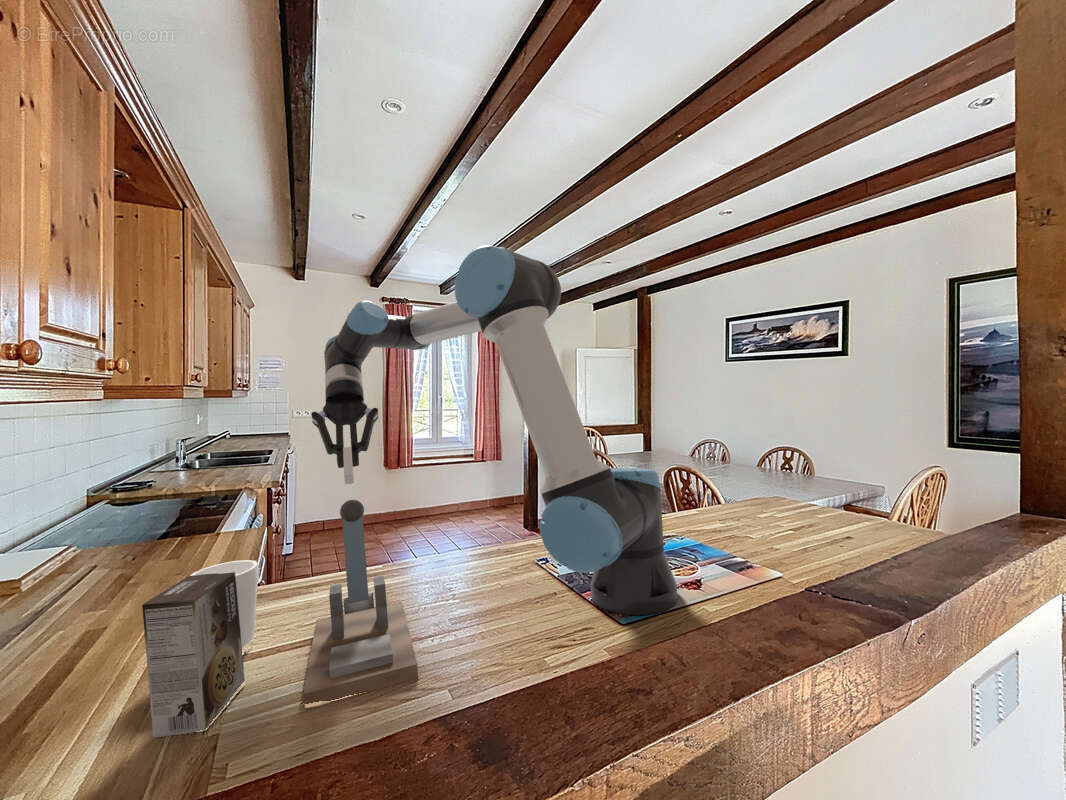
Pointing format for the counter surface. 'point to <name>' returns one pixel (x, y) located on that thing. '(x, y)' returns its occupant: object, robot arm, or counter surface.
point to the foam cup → (241, 592)
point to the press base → (359, 649)
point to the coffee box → (192, 652)
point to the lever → (355, 558)
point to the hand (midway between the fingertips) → (349, 479)
